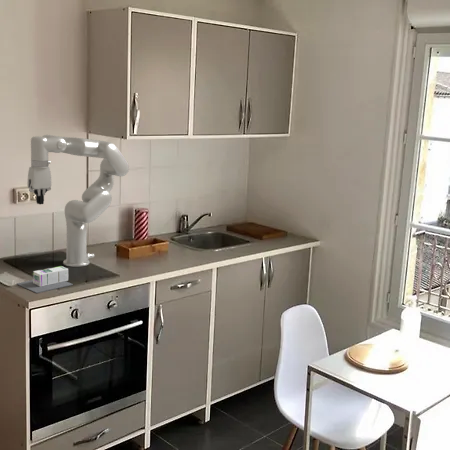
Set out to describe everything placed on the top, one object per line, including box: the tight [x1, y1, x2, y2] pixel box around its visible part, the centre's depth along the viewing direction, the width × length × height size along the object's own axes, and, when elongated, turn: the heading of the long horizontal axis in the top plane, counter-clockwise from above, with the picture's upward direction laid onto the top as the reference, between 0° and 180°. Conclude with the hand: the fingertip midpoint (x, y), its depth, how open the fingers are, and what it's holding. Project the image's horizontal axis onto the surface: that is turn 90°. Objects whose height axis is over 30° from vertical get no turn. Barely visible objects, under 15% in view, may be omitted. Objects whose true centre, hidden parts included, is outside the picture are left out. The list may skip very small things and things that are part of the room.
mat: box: [16, 279, 74, 294], centre depth 273 cm, size 18×16×1 cm
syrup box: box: [32, 265, 69, 287], centre depth 274 cm, size 6×6×14 cm
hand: (40, 203), depth 285 cm, fingers closed
